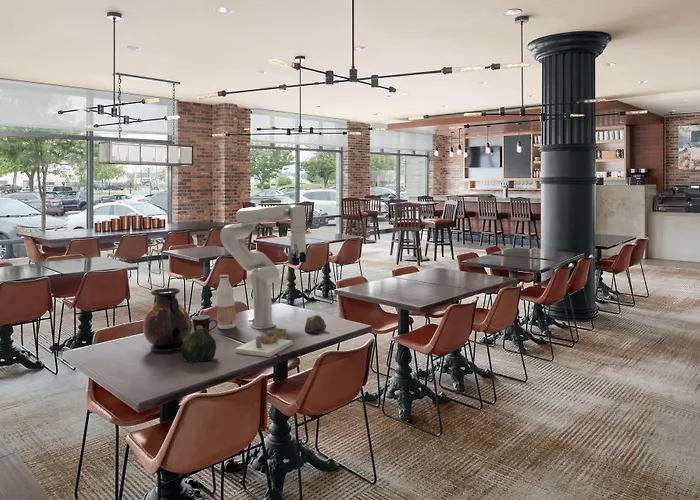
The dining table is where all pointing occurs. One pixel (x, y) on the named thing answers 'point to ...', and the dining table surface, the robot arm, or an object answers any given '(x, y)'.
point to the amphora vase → (166, 322)
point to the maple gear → (280, 333)
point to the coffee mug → (202, 322)
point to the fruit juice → (225, 304)
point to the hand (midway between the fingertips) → (299, 263)
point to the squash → (198, 346)
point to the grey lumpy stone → (315, 324)
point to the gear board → (264, 345)
